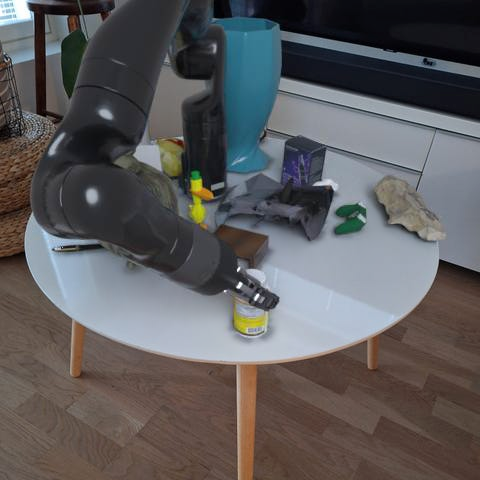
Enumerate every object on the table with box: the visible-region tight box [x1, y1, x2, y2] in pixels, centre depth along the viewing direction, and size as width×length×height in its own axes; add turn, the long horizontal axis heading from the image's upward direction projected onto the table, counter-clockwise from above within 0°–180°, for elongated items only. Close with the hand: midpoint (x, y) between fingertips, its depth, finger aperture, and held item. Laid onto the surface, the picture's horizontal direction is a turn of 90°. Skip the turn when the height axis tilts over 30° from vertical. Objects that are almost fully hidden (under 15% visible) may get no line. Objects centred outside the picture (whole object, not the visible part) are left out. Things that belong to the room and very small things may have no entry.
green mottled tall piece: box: [97, 148, 180, 270], centre depth 77 cm, size 14×9×25 cm, turn 50°
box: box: [280, 134, 328, 187], centre depth 105 cm, size 8×6×11 cm
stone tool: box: [373, 174, 447, 242], centre depth 96 cm, size 12×6×20 cm
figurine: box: [313, 177, 339, 196], centre depth 103 cm, size 2×8×5 cm, turn 125°
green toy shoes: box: [334, 199, 367, 235], centre depth 95 cm, size 9×4×6 cm
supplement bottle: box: [232, 268, 272, 339], centre depth 70 cm, size 6×6×10 cm
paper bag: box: [214, 172, 335, 241], centre depth 94 cm, size 18×20×9 cm
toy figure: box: [188, 171, 213, 230], centre depth 91 cm, size 7×4×12 cm, turn 49°
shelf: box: [212, 224, 270, 269], centre depth 87 cm, size 10×7×4 cm
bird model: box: [253, 177, 304, 227], centre depth 97 cm, size 5×12×10 cm
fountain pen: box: [50, 243, 106, 253], centre depth 89 cm, size 14×1×2 cm
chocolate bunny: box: [156, 137, 184, 177], centre depth 115 cm, size 7×11×15 cm
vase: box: [204, 16, 283, 174], centre depth 109 cm, size 17×17×30 cm
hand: (260, 292), depth 70 cm, fingers closed on supplement bottle, 5 cm apart
